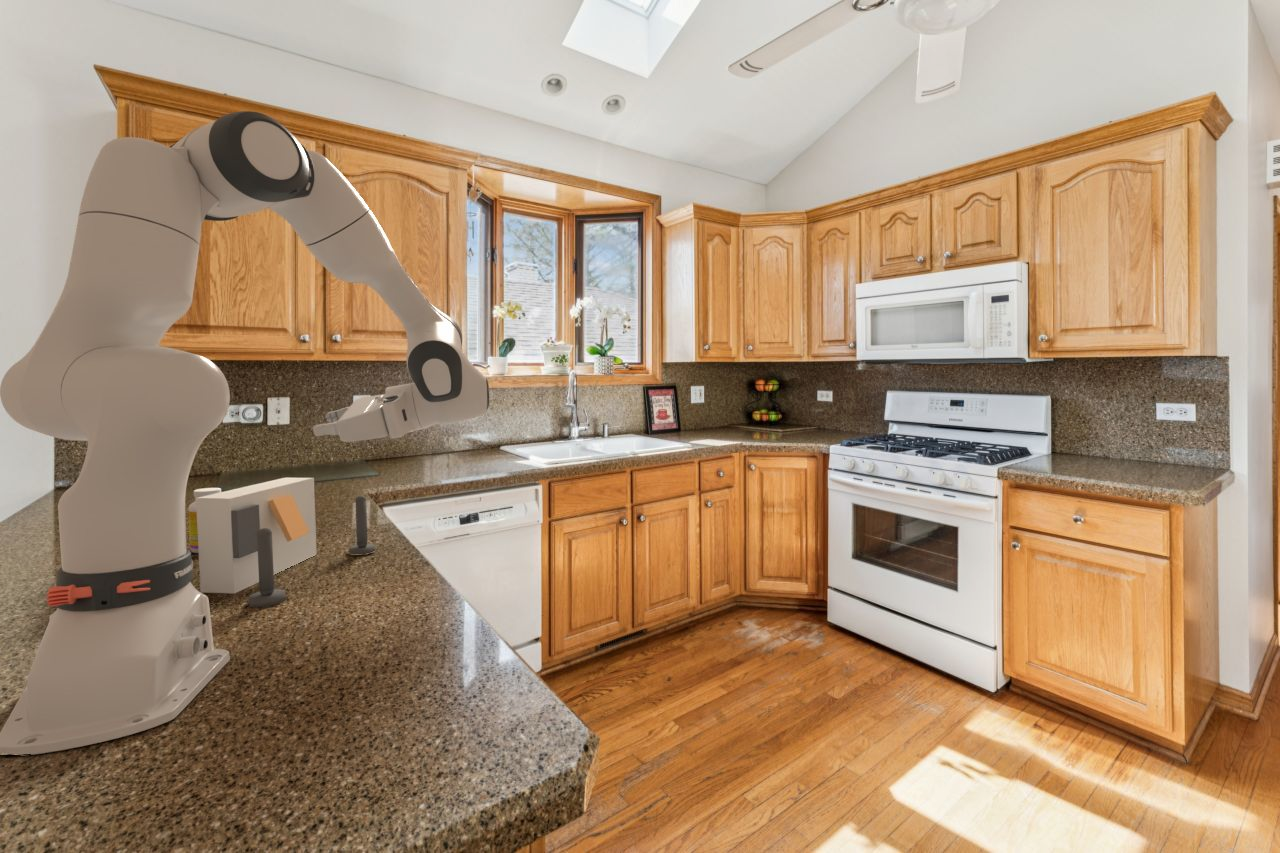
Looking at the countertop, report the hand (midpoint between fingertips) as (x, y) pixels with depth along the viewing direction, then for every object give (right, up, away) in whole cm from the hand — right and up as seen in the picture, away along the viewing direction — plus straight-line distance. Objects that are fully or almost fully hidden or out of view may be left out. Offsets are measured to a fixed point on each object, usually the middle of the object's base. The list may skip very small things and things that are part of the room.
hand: (320, 424), depth 106 cm
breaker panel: (-12, -27, +3) cm, 30 cm away
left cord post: (-2, -29, -11) cm, 31 cm away
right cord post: (0, -27, +17) cm, 31 cm away
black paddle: (-9, -22, -6) cm, 25 cm away
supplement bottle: (-33, -27, +18) cm, 46 cm away
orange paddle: (-5, -21, +2) cm, 22 cm away
